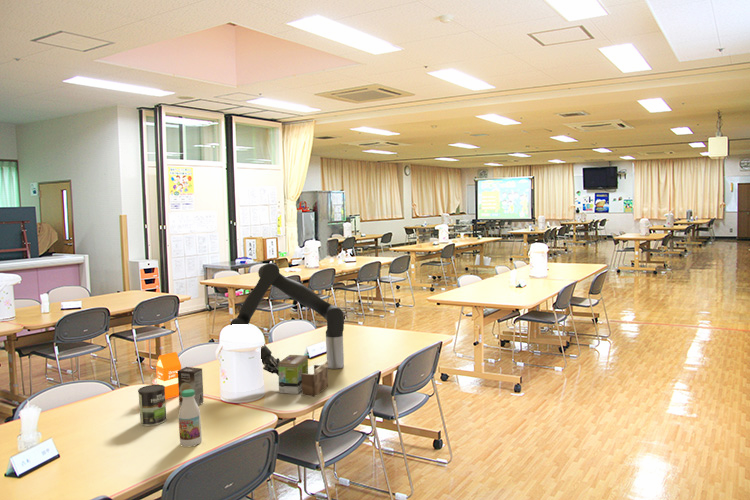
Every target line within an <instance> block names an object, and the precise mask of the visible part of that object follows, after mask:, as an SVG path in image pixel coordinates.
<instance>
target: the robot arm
mask: <svg viewBox="0 0 750 500" xmlns="http://www.w3.org/2000/svg"><path fill="white" fill-rule="evenodd" d="M257 274H258V277H259V279H258V281H257V283H256V284H255V286H254V288H253V289H252V290H251V292H250V293H249V294H248V295H247V297H246V298H245V300H244V301H243V304H242V305H241V306H240V308H239V310H238V311H239V313H238V315H237V317H236V318H233V319H232V320H231V321H230V322H229V323H230V324H229V325H232V324H248V325H249V323H250V322H251V319H252V317H253V315H254V314H255V312H256V310H257V309H258V308H259V305H260V303H261V302H262V300H263V297H264V296H265V295H266V293H267V291H269V290H270V288H271V286H273V287H275V288H277V289H279V291H281V292H283V293H284V295H286V296H288V297H289V298H291V299H292V300H294V301H295V302H297V303H299V304H300V305H302V306H304V307H306V308H308V309H311V310H313V311H314V312H316V313H317V314H319V315H320V316H321V317H323V318H324V319H325V321H326V331H325V344H326V349H325V350H326V361H328V366H327V369H330V370H331V369H332V370H338V369H343V368H344V366H345V359H344V357H345V355H344V354H345V353H344V333H343V332H344V330H345V329H344V327H345V326H344V325H345V320H344V317H345V316H344V312H343V310H342V309H341V308H339V307H338V306H336V305H334V304H331V303H330V302H328V301H326V300H325V299H323V298H321V297H320V296H319V295H318V294H317V293H316V292H315V291H314V290H312V289H311V288H310V287H307V286H306V285H304V284H303V283H301V282H298V281H296V280H294V279H292V278H288V277H286V276H285V275H283V274H282V273H280V267H279V266H278V265H277V264H276V263H273V262H270V263H266V264H263V265H261V266H260V268H259V269H258V271H257ZM261 359H262V365H263V367H262V370H264V371H266V372H269V374H276V375H277V376H278V377H279V368H278V363H279V362H280V361H281V360H280V358H279V357H277V358H276V357H275V356H273V355H272V351H271V350H270V349H269V347H267V345H266V344H265V343H264V346H262V347H261Z"/></svg>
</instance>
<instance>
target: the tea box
mask: <svg viewBox="0 0 750 500" xmlns="http://www.w3.org/2000/svg"><path fill="white" fill-rule="evenodd" d="M308 357H309V356H308V355H306V354H305V355H302V354H300V355H299V354H288V355H287V356H286V357H285V358H283V359H281V360H280V362H279V363H278V368H279V376H278V393H279V394H293V395H295V394H296V395H298V394H299V393H301V392H302V379H301V374H302V373H303V374H309V358H308Z"/></svg>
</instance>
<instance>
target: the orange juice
mask: <svg viewBox="0 0 750 500" xmlns="http://www.w3.org/2000/svg"><path fill="white" fill-rule="evenodd" d="M181 369H182V364H181V361H180V358H179V356H178V353H177V351H174V352H170V353H164V354H160V355H159V356H158V359H157V362H156V366H155V370H156V371H155V372H156V385H164V386H165V400H168V399H171V398H173V397H174V398H175V397H179V388H178V370H181Z"/></svg>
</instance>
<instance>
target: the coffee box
mask: <svg viewBox="0 0 750 500" xmlns="http://www.w3.org/2000/svg"><path fill="white" fill-rule="evenodd" d="M203 379H204V378H203V368H201V367H200V368H199V367H193V366H192V367H191V366H185V367H183V368H181V370H178V388H179V395H178V403H179V404H178V405H179V406H181V405H182V401H183V398H182V391H184V390H188V389H193V390H194V391H195V396H194V398H195V401H196V403H197V405H199V406H201V405H202V404H204V403H203V402H205V401H204V382H203ZM201 403H202V404H201Z"/></svg>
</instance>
